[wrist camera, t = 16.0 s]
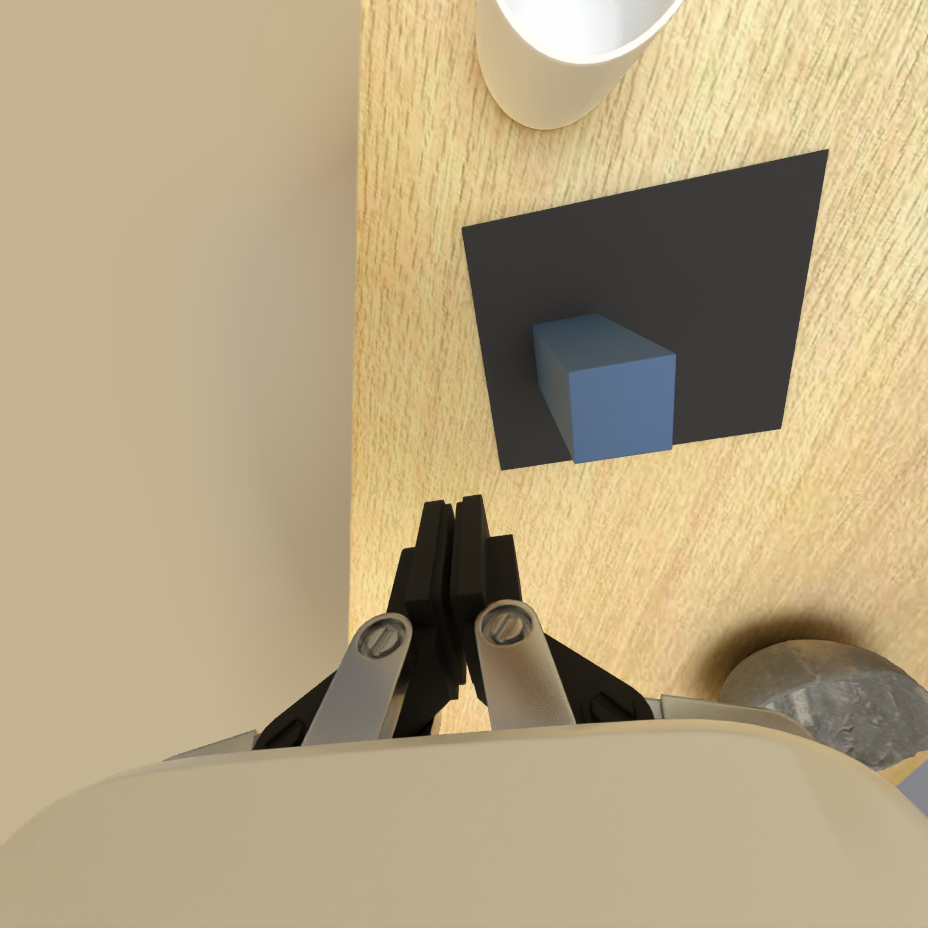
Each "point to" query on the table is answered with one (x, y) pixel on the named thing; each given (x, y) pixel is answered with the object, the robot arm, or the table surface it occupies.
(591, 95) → the mug
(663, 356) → the block
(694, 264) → the mat
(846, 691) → the bowl
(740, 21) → the table surface
